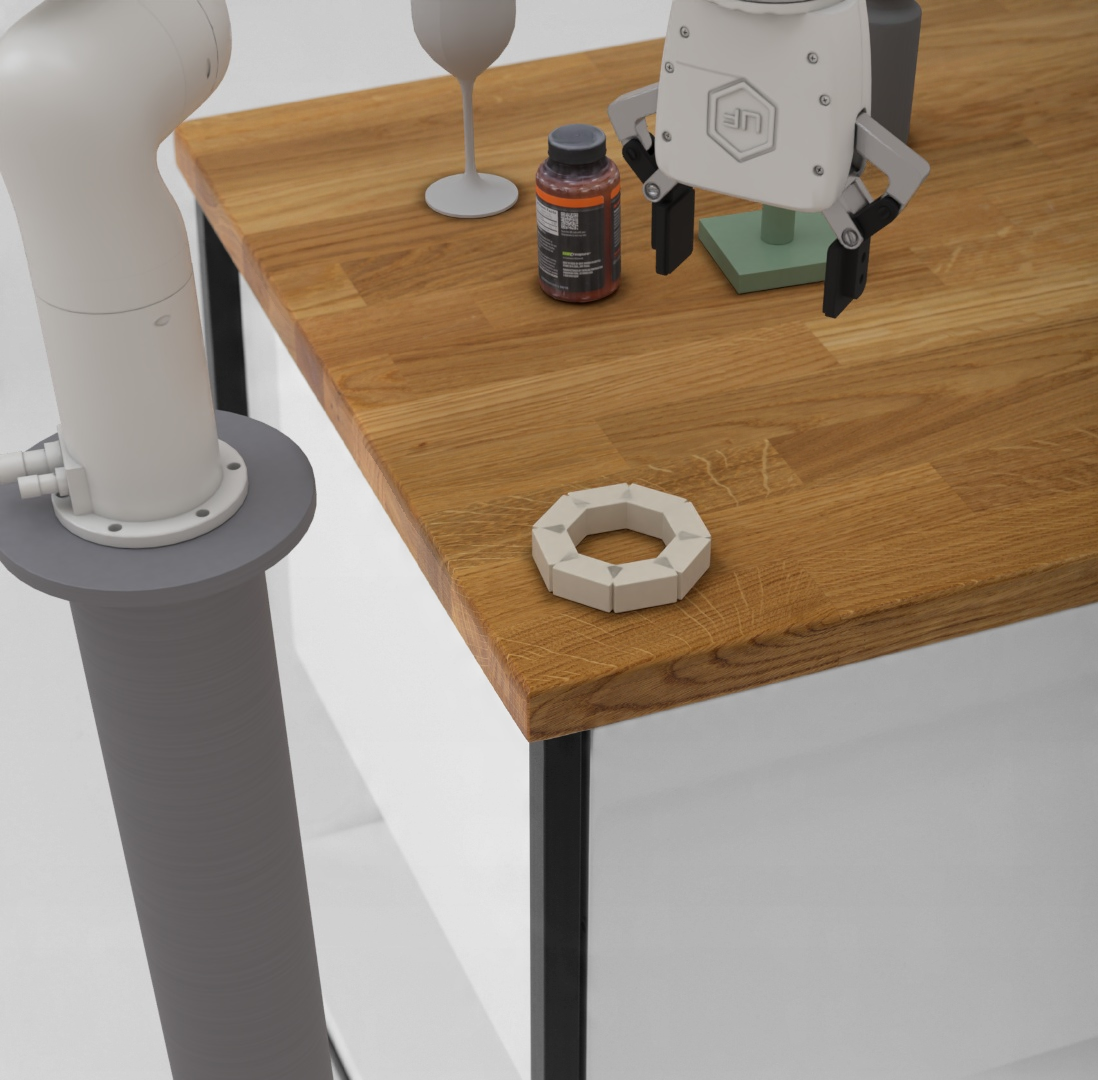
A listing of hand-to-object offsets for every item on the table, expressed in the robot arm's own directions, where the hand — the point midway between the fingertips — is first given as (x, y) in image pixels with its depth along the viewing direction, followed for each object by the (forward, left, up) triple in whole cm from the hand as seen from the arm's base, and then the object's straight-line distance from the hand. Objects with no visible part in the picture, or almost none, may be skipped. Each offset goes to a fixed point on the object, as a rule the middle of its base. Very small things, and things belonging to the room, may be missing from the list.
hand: (755, 284), depth 108 cm
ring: (-6, +4, -19) cm, 20 cm away
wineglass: (-3, +53, -19) cm, 56 cm away
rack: (+16, +37, -19) cm, 44 cm away
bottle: (+30, +53, -19) cm, 64 cm away
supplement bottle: (+1, +37, -19) cm, 41 cm away
